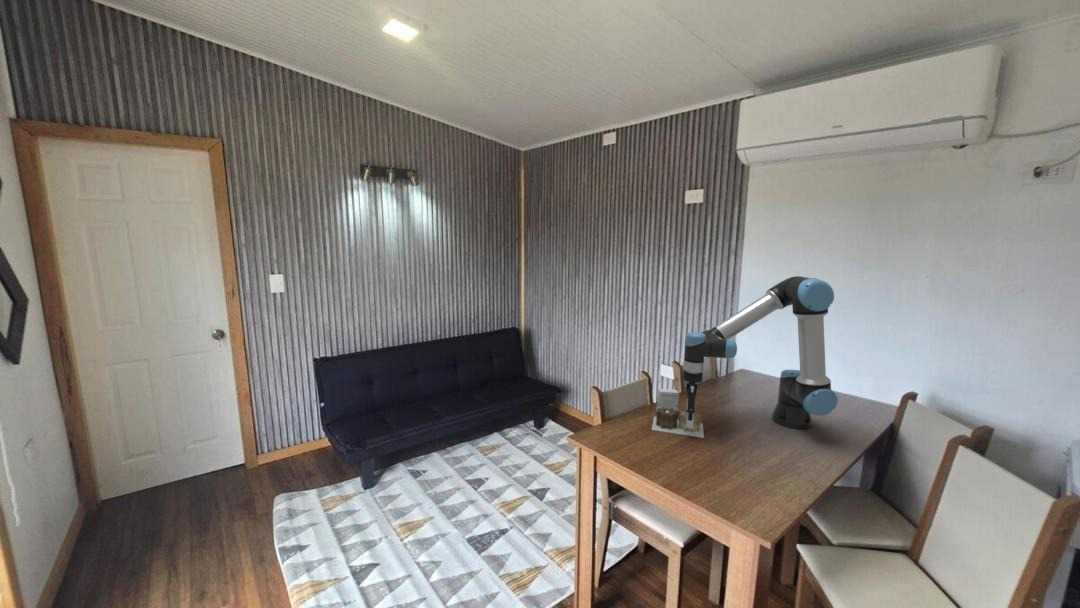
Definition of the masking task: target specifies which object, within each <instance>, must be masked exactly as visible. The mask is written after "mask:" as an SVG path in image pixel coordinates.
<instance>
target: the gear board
mask: <svg viewBox="0 0 1080 608" xmlns="http://www.w3.org/2000/svg"><path fill="white" fill-rule="evenodd" d="M669 412H670V411H666V413H669ZM656 419H657V416H656V415H655V416H653V421H652V425H651V430H652V431H658V432H662V433H663V432H664V433H669V434H677V435H683V436H687V437H688V436H689V437H696V438H703V439H704V438H705V435H704V425H703V423H702V422H700V431H699V432H698V431H695V432H694V433H692V432H689V431H686V432H685V431H684V430H683V429H679V428H678V422H679V419H678V421H677V428H672V429H668V428H661V426H659V425H656Z"/></svg>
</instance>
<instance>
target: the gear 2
mask: <svg viewBox="0 0 1080 608" xmlns="http://www.w3.org/2000/svg"><path fill="white" fill-rule="evenodd" d="M701 417H702V415H701V413H697V412H696V411H695V412H694V423H693V428H688V427H686V418H687V412H685V410H680V411H679V410H678V420H679V422H678V428H679V429H683V430H684V431H685V432H686V431H689V432H692V433H694V432H695V431H698V432H699V431H700V423H702V421H701Z"/></svg>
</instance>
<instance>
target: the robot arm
mask: <svg viewBox="0 0 1080 608" xmlns="http://www.w3.org/2000/svg"><path fill="white" fill-rule="evenodd" d="M834 300H835V293H834V290H833V288H832V286H831V285H830V284H829V283H828V282H827V281H824V280H823V279H820V278H816V277H814V278H813V277H805V276H800V275H797V276H790V277H788V278H786V279H784V280H782V281H780V282H778V283H777V284H775V285H773V286H772V287H770V288H769V289H767V290H766V291H765V294H764V295H762V296H761V297H759V298H758V299H755V301H753V302H751V303H750V304H749V305H747V306H745V307H743V308H742V309H740V310H739V311H737V312H736V313H734V314H733V315H730V317H728V318H726V319H725V320H723V321H722V322H719V323H718V324H717V325H715V326H714V327H712V328H711V329H704V330H702V331H700V332H693V331H691V332H687V334H686V335H685V341H684V355H683V356H684V358H683V361H682V362H681V364H682V365H683V371H682V379H683V381H685V382H686V396H687V397H686V398H687V399H686V408H685V409H684V411H685V412H687V418H686V427H688V428H693V423H694V412H695V413H696V411H695V406H696V403H695V402H696V396H697V391H698V384H699V383H702V381H703V371H704V365H705V358H715V359H716V358H717V359H718V358H719V359H720V358H721V359H732V358H735V357H736V356H737V352H738V345H737V342H736V341H735V340H734V339H732V338H733V337H735V336H737V335H738V334H740V333H741V332H743V331H744V330H746V329H747V328H749V327H751V326H752V325H754V324H755V323H758V322H759V321H760V320H762V319H764V318H765V317H767V316H768V315H770V314H772V313H773V312H776V311H777V310H784V309H785V308H787V307H789V306H792V314H793V315H794V316H795V317H796V318H797V333H798V334H797V337H798V355H799V356H798V357H799V369H784V370H782V371H781V373H780V377H779V387H778V397H777V399H778V400H777V403H776V405H775V407H774V408H773V410H772V412H771V420H772V421H773V422H775V423H777V424H778V425H781V426H784V427H786V428H791V429H798V430H807V429H810V428H811V427H812V425H813V420H812V416H811V414H812V415H814V416H819V417H820V416H827V415H829V414H831V413H832V411H835V409H836V407H838V406H837V405H838V403H839V399H838V396H837V393H836V392H835V391H833V390H832V384H831V383H832V382H831V381H832V380H831V379H830V378H829V377H828V376H827V373H826V371H827V369H826V350H825V349H826V348H825V346H826V344H825V326H824V325H825V323H824V322H825V320H824V317H825V316H826V315H827V314H829V308H830V307H831V305H832V304H833V302H834Z"/></svg>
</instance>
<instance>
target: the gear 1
mask: <svg viewBox="0 0 1080 608" xmlns="http://www.w3.org/2000/svg"><path fill="white" fill-rule="evenodd" d="M656 410H657V411H656V417H657V419H656V425H659V426H661V428H668V429H672V428H677V421H678V420H679V410H678V411H675V410H673V408H670V409H669V408H665V407H663V408H661V409H660V408H658V409H657V408H656ZM666 411H670V412H669V413H666Z"/></svg>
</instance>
